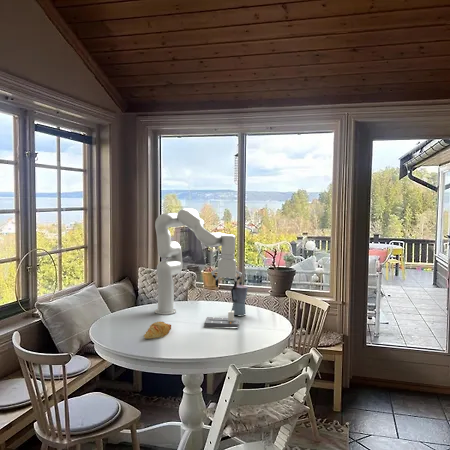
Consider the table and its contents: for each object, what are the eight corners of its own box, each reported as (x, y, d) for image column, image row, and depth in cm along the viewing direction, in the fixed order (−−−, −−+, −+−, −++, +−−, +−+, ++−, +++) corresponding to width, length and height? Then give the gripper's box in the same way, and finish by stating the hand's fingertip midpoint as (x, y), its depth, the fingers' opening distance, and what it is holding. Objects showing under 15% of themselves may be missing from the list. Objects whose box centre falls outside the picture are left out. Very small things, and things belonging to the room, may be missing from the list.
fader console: (206, 321, 260) (206, 316, 260) (238, 322, 258) (238, 318, 258) (204, 327, 248) (204, 322, 248) (237, 328, 247) (237, 323, 246)
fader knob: (228, 322, 255) (228, 310, 254) (233, 322, 255) (234, 310, 254) (227, 324, 251) (228, 312, 250) (233, 324, 251) (233, 312, 250)
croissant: (149, 348, 222) (155, 335, 219) (134, 335, 225) (140, 322, 223) (174, 336, 240) (180, 324, 238) (160, 325, 244) (166, 313, 242)
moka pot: (251, 313, 279) (252, 281, 278) (238, 319, 266) (239, 285, 265) (238, 311, 285) (238, 279, 283) (224, 316, 272) (225, 283, 270)
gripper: (211, 256, 250) (209, 287, 251) (243, 258, 249) (241, 290, 250) (212, 254, 257) (211, 285, 259) (243, 256, 256) (241, 287, 257)
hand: (225, 287), depth 254 cm, fingers open, 9 cm apart
